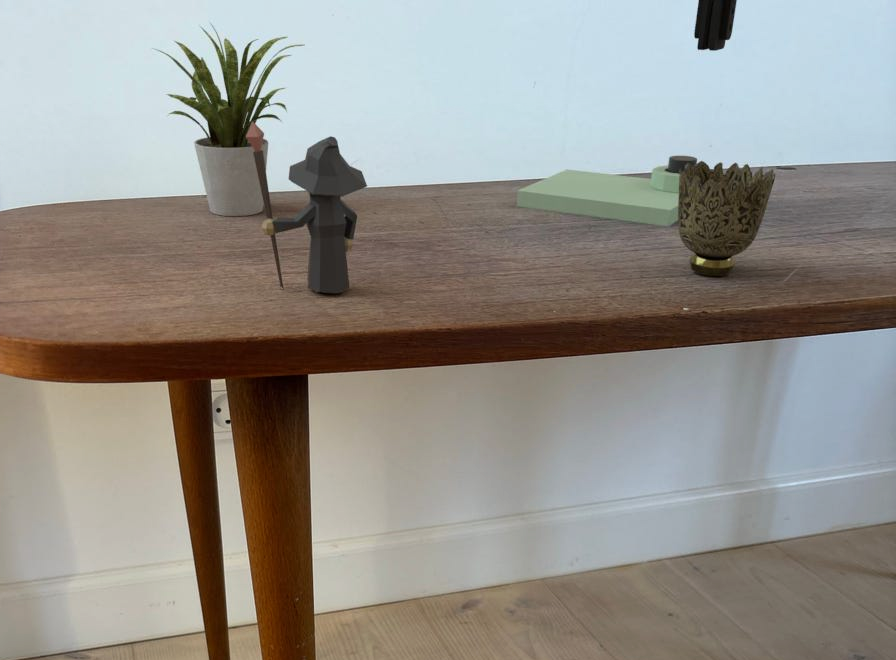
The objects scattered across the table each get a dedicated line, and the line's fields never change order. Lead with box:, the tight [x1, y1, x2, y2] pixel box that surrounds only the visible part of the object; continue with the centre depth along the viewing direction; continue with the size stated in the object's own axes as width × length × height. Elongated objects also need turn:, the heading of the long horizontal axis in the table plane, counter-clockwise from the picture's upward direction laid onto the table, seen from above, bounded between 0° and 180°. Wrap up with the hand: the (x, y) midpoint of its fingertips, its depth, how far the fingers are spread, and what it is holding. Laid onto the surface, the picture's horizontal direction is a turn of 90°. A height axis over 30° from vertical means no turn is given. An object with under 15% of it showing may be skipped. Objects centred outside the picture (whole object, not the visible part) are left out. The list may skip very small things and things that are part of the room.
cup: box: [677, 160, 776, 277], centre depth 86 cm, size 8×7×8 cm
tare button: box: [667, 155, 698, 174], centre depth 107 cm, size 3×3×2 cm
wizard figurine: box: [246, 121, 368, 294], centre depth 79 cm, size 8×6×12 cm
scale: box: [516, 164, 679, 227], centre depth 108 cm, size 16×13×3 cm
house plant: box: [151, 22, 304, 217], centre depth 100 cm, size 14×14×16 cm
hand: (710, 48), depth 96 cm, fingers closed
